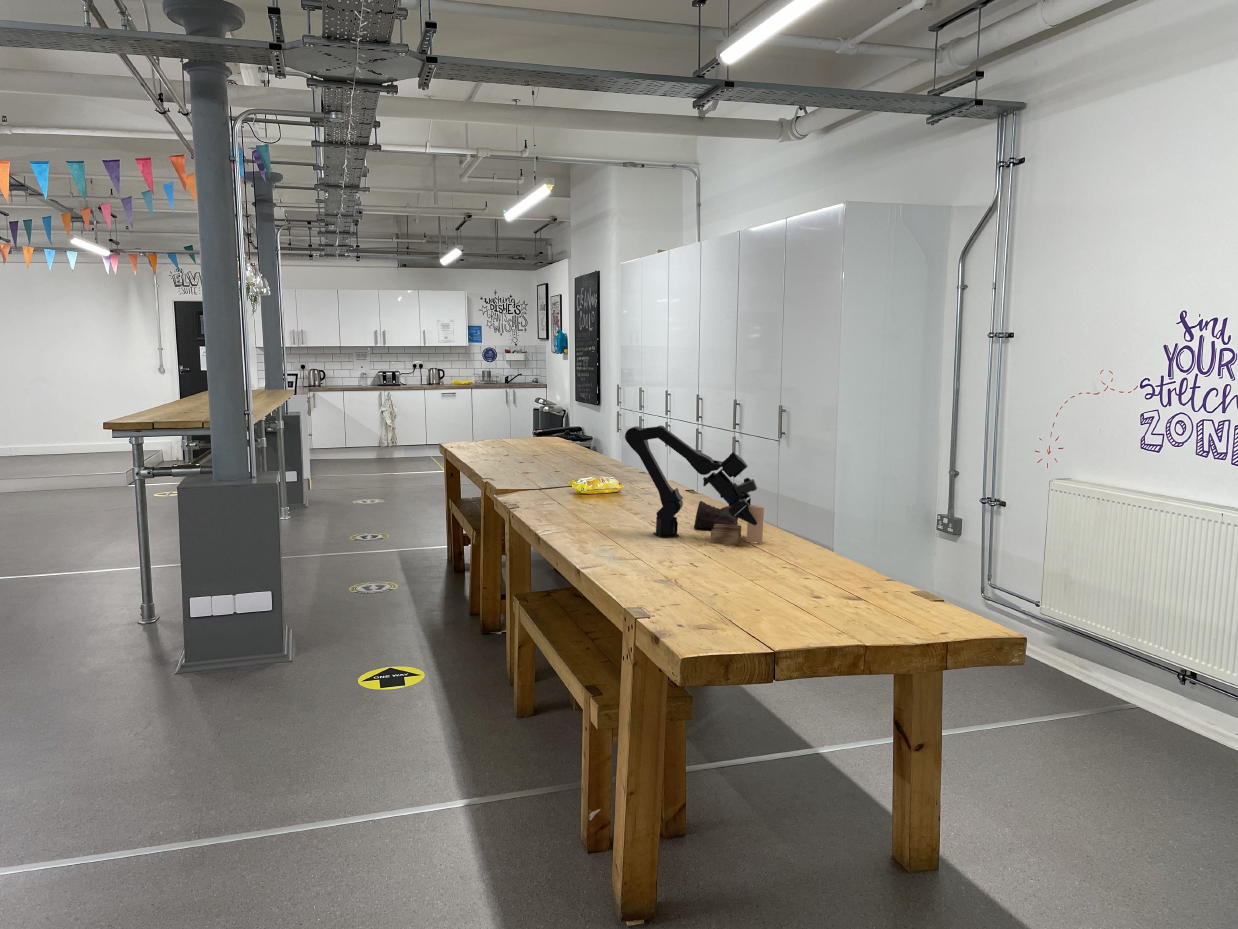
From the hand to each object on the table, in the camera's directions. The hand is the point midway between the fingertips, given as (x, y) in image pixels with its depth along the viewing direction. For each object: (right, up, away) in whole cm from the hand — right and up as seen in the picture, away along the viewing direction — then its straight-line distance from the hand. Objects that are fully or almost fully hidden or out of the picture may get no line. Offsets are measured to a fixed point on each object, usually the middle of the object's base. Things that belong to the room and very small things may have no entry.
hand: (757, 522), depth 282 cm
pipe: (-11, -4, +23) cm, 26 cm away
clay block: (-1, -7, +1) cm, 7 cm away
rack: (-10, -6, +3) cm, 12 cm away
